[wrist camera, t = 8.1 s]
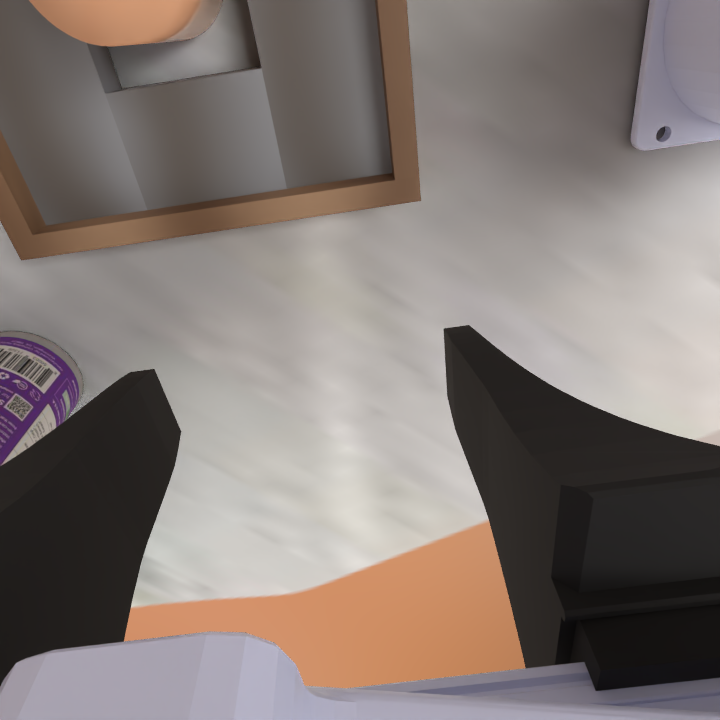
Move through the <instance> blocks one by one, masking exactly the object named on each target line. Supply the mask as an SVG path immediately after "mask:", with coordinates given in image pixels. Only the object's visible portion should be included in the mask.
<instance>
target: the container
mask: <svg viewBox="0 0 720 720" xmlns="http://www.w3.org/2000/svg"><path fill="white" fill-rule="evenodd" d="M82 392H83V379H82V375H81V372H80V370H79V368H78V367H77V365H76V363H75V362H74V361H73V359H72V358H71V357H70V356H69V355H68V354H67V353H66V352H65V351H64V350H62V349H61V348H60V347H58V346H57V345H55V344H54V343H52V342H50V341H49V340H46V339H44V338H42V337H39V336H37V335H33V334H30V333H25V332H17V331H7V332H0V466H1V465H3V464H5V463H6V462H8V461H9V460H11V459H12V458H14V457H16V456H17V455H19V454H20V453H22V452H23V451H24V450H26V449H27V448H29V447H30V446H32V445H33V444H34V443H36V442H37V441H38V440H40V439H41V438H43V437H44V436H45V435H47V434H48V433H49V432H51V431H52V430H54V429H55V428H56V427H58V426H59V425H60V424H62V423H63V422H64V421H66V419H67V418H68V416H69V415H70V413H71V412H72V410H73V409H74V408H75V406H76V404H77V403H78V401H79V400H80V398H81V395H82Z"/></svg>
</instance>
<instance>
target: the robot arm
mask: <svg viewBox="0 0 720 720" xmlns="http://www.w3.org/2000/svg"><path fill="white" fill-rule="evenodd" d="M662 127H665V133H664V136H663V137H662V138H661V139H658V140H657V139H656V134H657V132H658V130H659V129H660V128H662ZM715 140H720V0H650V2H649V9H648V16H647V24H646V31H645V38H644V45H643V52H642V59H641V67H640V74H639V81H638V88H637V95H636V102H635V110H634V117H633V124H632V131H631V143H632V145H633V146H634V147H635V148H637V149H639V150H642V151H648V150H655V149H661V148H668V147H675V146H681V145H688V144H695V143H701V142H708V141H715ZM444 343H445V361H446V379H447V396H448V400H449V405H450V409H451V413H452V417H453V422H454V426H455V430H456V432H457V435H458V438H459V440H460V443H461V446H462V448H463V451H464V454H465V456H466V459H467V461H468V464H469V467H470V469H471V472H472V474H473V477H474V480H475V482H476V485H477V487H478V490H479V493H480V495H481V498H482V500H483V503H484V506H485V509H486V512H487V515H488V518H489V522H490V526H491V529H492V533H493V537H494V540H495V544H496V548H497V552H498V556H499V559H500V563H501V567H502V571H503V575H504V579H505V583H506V587H507V591H508V595H509V599H510V603H511V607H512V611H513V615H514V620H515V624H516V628H517V632H518V636H519V641H520V645H521V649H522V653H523V658H524V662H525V667H526V668H525V669H516V670H507V671H498V672H489V673H480V674H472V675H463V676H455V677H444V678H435V679H426V680H418V681H409V682H400V683H390V684H382V685H373V686H364V687H355V688H347V689H346V688H330V687H314V686H305V685H304V684H303V681H302V678H301V676H300V673H299V671H298V669H297V666H296V664H295V663H294V662H293V661H292V660H291V659H290V658H289V657H288V656H287V655H286V654H285V653H284V652H283V651H282V650H281V649H280V648H279V647H278V646H277V645H276V644H275V643H274V642H271V641H268V640H265V639H262V638H259V637H256V636H254V635H250V634H248V633H242V632H202V633H194V634H185V635H177V636H168V637H160V638H152V639H144V640H134V641H125V642H124V637H125V632H126V627H127V622H128V618H129V613H130V608H131V603H132V598H133V594H134V590H135V586H136V582H137V577H138V573H139V569H140V565H141V561H142V558H143V555H144V551H145V548H146V545H147V542H148V539H149V537H150V534H151V531H152V528H153V526H154V523H155V520H156V517H157V515H158V512H159V509H160V506H161V504H162V501H163V498H164V495H165V493H166V490H167V487H168V484H169V481H170V478H171V475H172V472H173V469H174V466H175V462H176V457H177V452H178V447H179V441H180V435H181V430H180V428H179V426H178V423H177V421H176V419H175V416H174V414H173V412H172V409H171V407H170V405H169V402H168V400H167V398H166V395H165V393H164V391H163V388H162V386H161V384H160V381H159V379H158V377H157V374H156V372H155V370H154V369H150V370H143V371H136V372H130V373H128V374H127V375H125V376H124V377H122V378H121V379H119V380H118V381H116V382H115V383H114V384H112V385H111V386H110V387H108V388H107V389H106V390H104V391H103V392H102V393H100V394H99V395H98V396H97V397H95V398H94V399H93V400H91V401H90V402H89V403H88V404H86V405H85V406H84V407H82V408H81V409H80V410H79V411H77V412H76V413H75V414H74V415H72V416H71V417H70V418H68V419H67V420H66V421H64V422H63V423H62V424H60V425H59V426H58V427H56V428H55V429H54V430H52V431H51V432H49V433H48V434H47V435H45V436H44V437H43V438H41V439H40V440H38V441H37V442H36V443H34V444H33V445H32V446H30V447H29V448H27V449H26V450H24V451H23V452H22V453H20V454H19V455H17V456H16V457H14V458H12V459H11V460H9V461H8V462H6V463H5V464H3V465H1V466H0V720H720V446H717V445H713V444H708V443H704V442H700V441H696V440H692V439H688V438H684V437H680V436H676V435H672V434H669V433H665V432H662V431H659V430H656V429H653V428H649V427H646V426H643V425H640V424H637V423H634V422H631V421H629V420H626V419H623V418H620V417H618V416H615V415H613V414H610V413H608V412H606V411H603V410H601V409H598V408H596V407H593V406H591V405H589V404H587V403H585V402H582V401H580V400H578V399H576V398H574V397H572V396H571V395H569V394H567V393H565V392H563V391H561V390H559V389H557V388H555V387H553V386H552V385H550V384H548V383H546V382H545V381H543V380H542V379H540V378H538V377H537V376H535V375H534V374H532V373H531V372H529V371H527V370H526V369H524V368H523V367H522V366H520V365H519V364H517V363H516V362H515V361H513V360H512V359H510V358H509V357H508V356H506V355H505V354H504V353H503V352H501V351H500V350H499V349H497V348H496V347H495V346H494V345H492V344H491V343H490V342H489V341H488V340H486V339H485V338H484V337H483V336H482V335H480V334H479V333H478V332H477V331H475V330H474V329H473V328H472V327H471V326H469V325H467V326H460V327H453V328H445V329H444Z"/></svg>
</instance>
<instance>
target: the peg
mask: <svg viewBox="0 0 720 720" xmlns="http://www.w3.org/2000/svg"><path fill="white" fill-rule="evenodd" d="M29 1H30V2H31V3H32V5H33V6H34V7H35V8H36V9H37V10H38V11H39V12H40V13H41V14H42V15H43V16H44V17H45V18H46V19H47V20H48V21H49V22H50V23H52V24H53V25H54V26H56V27H57V28H58V29H60V30H61V31H63V32H65V33H66V34H68V35H70V36H72V37H74V38H76V39H78V40H80V41H83V42H86V43H89V44H93V45H99V46H124V45H137V44H149V43H162V42H175V41H185V40H189V39H193V38H195V37H197V36H199V35H201V34H202V33H203V32H205V31H206V30H207V29H208V28H209V27H210V26H211V25H212V23H213V22H214V21H215V19H216V17H217V15H218V13H219V11H220V8H221V5H222V1H223V0H29Z"/></svg>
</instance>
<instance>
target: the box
mask: <svg viewBox="0 0 720 720" xmlns="http://www.w3.org/2000/svg"><path fill="white" fill-rule="evenodd" d="M247 2H248V7H249V11H250V16H251V21H252V26H253V30H254V35H255V40H256V44H257V49H258V54H259V59H260V63H261V67H254V68H248V69H242V70H236V71H230V72H224V73H217V74H211V75H205V76H199V77H193V78H187V79H180V80H174V81H168V82H162V83H156V84H150V85H143V86H137V87H131V88H125V89H122V88H121V85H120V82H119V80H118V77H117V74H116V71H115V68H114V65H113V62H112V59H111V57H110V54H109V51H108V48H107V46H99V45H93V44H89V43H86V42H83V41H80V40H78V39H76V38H74V37H72V36H70V35H68V34H66V33H65V32H63V31H61V30H60V29H58V28H57V27H56V26H54V25H53V24H52V23H50V22H49V21H48V20H47V19H46V18H45V17H44V16H43V15H42V14H41V13H40V12H39V11H38V10H37V9H36V8H35V7H34V6H33V5H32V3H31V2H30V1H29V0H0V221H1V223H2V225H3V227H4V229H5V230H6V232H7V234H8V236H9V238H10V240H11V242H12V244H13V246H14V248H15V249H16V251H17V253H18V255H19V257H20V259H21V260H27V259H34V258H41V257H47V256H54V255H61V254H67V253H74V252H81V251H88V250H94V249H101V248H108V247H114V246H121V245H128V244H134V243H141V242H148V241H154V240H161V239H168V238H175V237H181V236H188V235H195V234H201V233H208V232H215V231H221V230H228V229H235V228H242V227H248V226H255V225H262V224H268V223H275V222H282V221H288V220H295V219H302V218H308V217H315V216H322V215H329V214H335V213H342V212H349V211H355V210H362V209H369V208H375V207H382V206H389V205H396V204H402V203H409V202H416V201H421V195H420V181H419V167H418V154H417V140H416V126H415V112H414V98H413V84H412V71H411V57H410V43H409V29H408V15H407V1H406V0H247Z"/></svg>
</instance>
